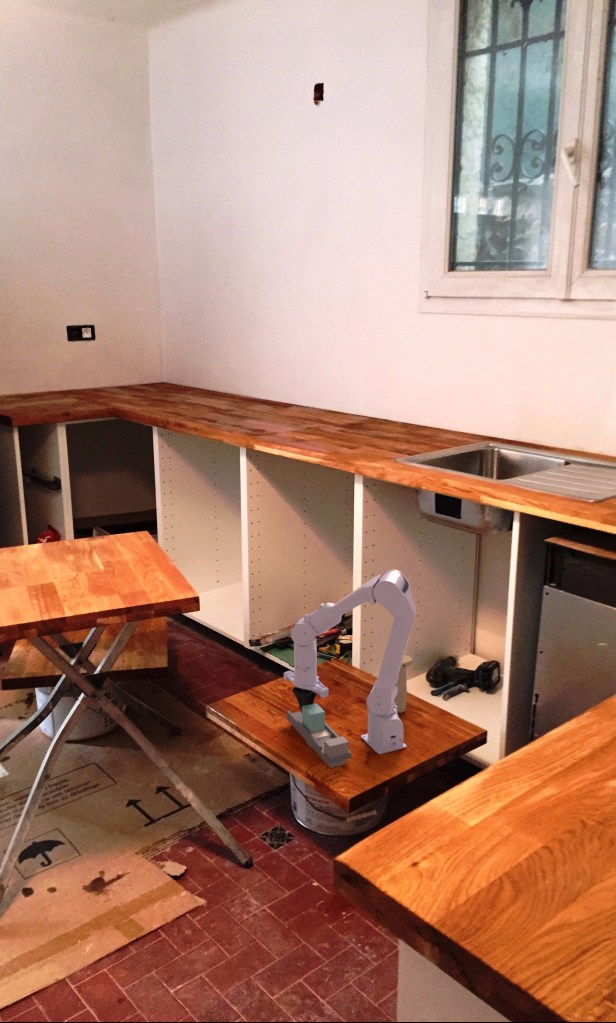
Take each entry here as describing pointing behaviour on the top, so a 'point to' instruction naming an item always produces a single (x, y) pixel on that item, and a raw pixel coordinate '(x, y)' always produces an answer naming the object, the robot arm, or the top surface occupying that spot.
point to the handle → (402, 685)
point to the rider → (313, 718)
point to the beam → (323, 741)
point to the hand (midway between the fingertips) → (306, 713)
